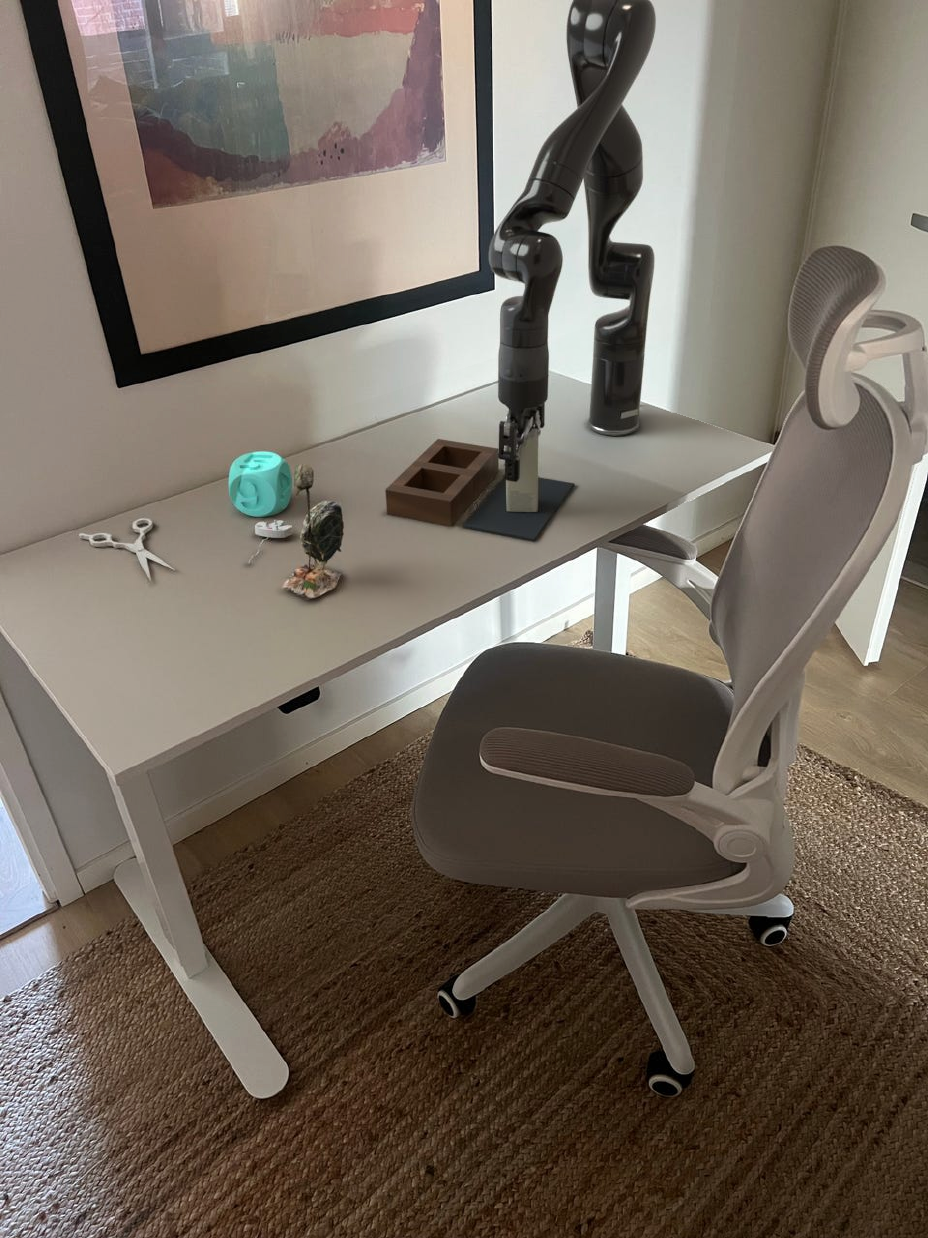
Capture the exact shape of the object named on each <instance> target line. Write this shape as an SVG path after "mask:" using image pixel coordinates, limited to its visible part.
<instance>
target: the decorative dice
mask: <svg viewBox="0 0 928 1238" xmlns="http://www.w3.org/2000/svg"><path fill="white" fill-rule="evenodd" d="M292 486H293V478H292V472H291V467H290V464H289V463H288V462H287V461H286V460H285V458H283V457H282V456H280V455H279V454H277V453H275V452H272V451H252V452H248V453H245V454H242V455H240V456H238V457H237V458H236V459H235V460H234V461H233V462H232V464H231V466H230V469H229V473H228V495H229V498H230V501H231V503H232V504H233V506H234V507H235V508H236V509H237V510H238V511H239V512H241V513H243V514H244V515H246V516H249V517H254V518H255V517H256V518H266V517H272V516H274V515H277V514H279V513H281V512H283V511H284V510H286V508H287V507H288V506H289V503H290V501H291V495H292V490H293V489H292V488H293V487H292Z"/></svg>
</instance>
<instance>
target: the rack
mask: <svg viewBox="0 0 928 1238" xmlns="http://www.w3.org/2000/svg"><path fill="white" fill-rule="evenodd" d="M498 453H499V447H498V448H497V447H492V446H491V447H490V446H485V445H479V444H474V443H467V442H460V441H453V440H448V439H441V438H437V439H436V440H435V441H434V442H433V443H432V444H431V445H430V446H429V447H428V448H427V449H426V450H424V451H423V452H422V453H421V455H419V456H418V457H417V458H416V459H415V460H414V461H413V462H412V463H411V464H410V465H409V466H408V467H407V468H405V470H404V471H403V472H402V473H401V474H399V476H398V477H396V479H394V480H393V481H392V482H391V483H390V484H389V485H387V487H386V488H385V492H384V493H385V505H386V515H390V516H395V517H400V518H405V519H409V520H410V519H411V520H414V521H415V520H416V521H420V522H425V523H430V524H431V523H432V524H436V525H442V526H446V527H453V525H454V524H456V522H457V521H458V520H459V518H460V517H461V516H462V515H463V514H464V513H465V512H466V510H467V509H468V508H469V507H470V506H471V504H473V502H474V501H475V500H476V499H477V497H478V496H479V495H480V494H481V493H482V492H483V491H484V490H485V488H486V487H487V486H488V485H489V484H490V483H491V481H492V480H493V479H494V478H495V477H496V476H497V474H498V473H499V458H498Z"/></svg>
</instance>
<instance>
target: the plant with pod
mask: <svg viewBox="0 0 928 1238" xmlns="http://www.w3.org/2000/svg"><path fill="white" fill-rule="evenodd" d="M314 472H315V471H314V469H313V467H312V466H310V465H308V464H302V463H301V464H299V465H296V466H295V469H294V474H293V486H294V487H295V488H296V491H295V497H296V498H298V497H299V493H300V492H302V491H304V490H305V492H306V502H307V503H306V504H307V513H306V515H305V517H304V520H303V522H302V527H301V532H300V536H299V537H300V540H301V546H302V550H303V552H304V554H306V555H307V556H308V563H307V564H302V565H300V566H299V567H297V568H296V569H295V570H294V571H293V573H292V574H290V576H287V577H286V580H285V581H284V583H283V585H282V586H281V588H282V590H290V592H293V593H296V596H299V597H300V596H301V598H302V599H304V600H307V601H308V600H312V599H315V598H317V597H320V596H322V595H323V594H325V593H326V592H329V591H332V590H333V589H335V588H336V587H337V586H338V583H339V579H340V578H341V574H342V573H343V572H341V571H334V570H329V569H326V568H325V567H326V565H327V563H328V562H329V560H331V559H332V558H333V557H334V555H335V554H336V552H337V551H338V552H339V553H342V550H341V547H342V543H343V542H342V541H343V538H344V536H345V535H344V534H345V533H344V529H345V524H344V523H345V522H344V517H343V510H342V506H341V505H340V504H342V503H343V501H342V500H341V501H340V504H339V503H337V502H336V501H331V500H322V501H321V502H319V503H318V504H317V505H315V506H313V507H312V508H311V504H310V503H311V500H310V498H311V496H310V495H311V494H310V489H312V488H313V485H314V481H315V479H314ZM312 558H313V560H314V564H312V563H311V562H312V561H311V559H312Z"/></svg>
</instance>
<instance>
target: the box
mask: <svg viewBox="0 0 928 1238" xmlns="http://www.w3.org/2000/svg"><path fill="white" fill-rule="evenodd" d="M521 438H522V437H517V439H521ZM516 449H517V447H516ZM509 451H511V447H510V449H509ZM538 477H539V436H538V429H537V428H532V430H531V431H530V432H529V434H528V438H527V443H526V445H525V446H523V447H522V451H521V455H520V478H519V480H518V481H517V482H513V481H507V480H506V501H507V511H508V512H537V510H538Z"/></svg>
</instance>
